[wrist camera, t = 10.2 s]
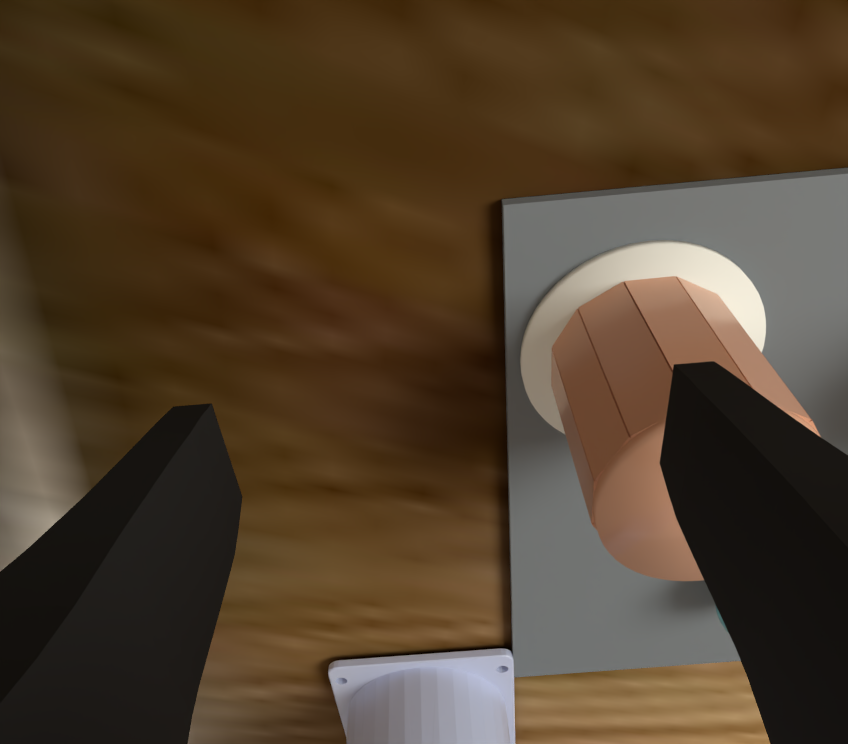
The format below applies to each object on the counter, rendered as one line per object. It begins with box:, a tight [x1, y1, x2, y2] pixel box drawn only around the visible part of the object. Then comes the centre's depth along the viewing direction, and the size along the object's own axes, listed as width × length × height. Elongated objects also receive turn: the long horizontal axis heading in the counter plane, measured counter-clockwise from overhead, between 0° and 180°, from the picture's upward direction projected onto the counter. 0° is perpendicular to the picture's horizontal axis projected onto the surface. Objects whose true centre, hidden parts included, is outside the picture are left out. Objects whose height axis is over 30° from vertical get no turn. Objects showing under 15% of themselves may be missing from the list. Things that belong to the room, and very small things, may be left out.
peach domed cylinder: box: [551, 276, 821, 581], centre depth 19 cm, size 5×5×6 cm
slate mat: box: [502, 168, 848, 677], centre depth 25 cm, size 22×20×1 cm
